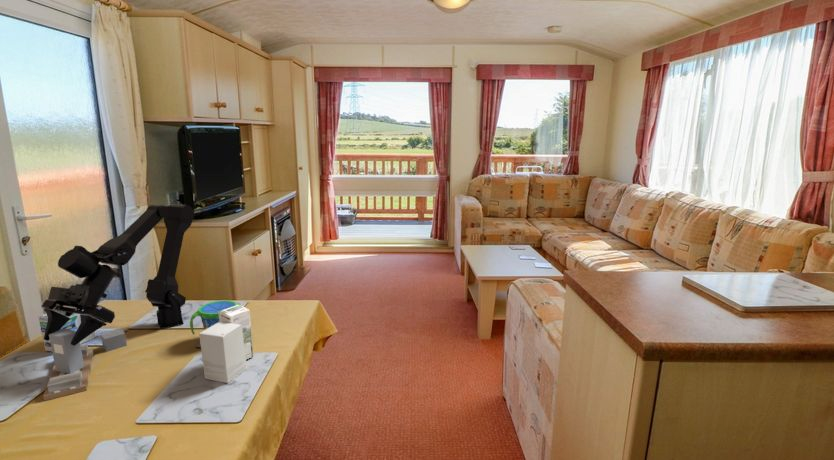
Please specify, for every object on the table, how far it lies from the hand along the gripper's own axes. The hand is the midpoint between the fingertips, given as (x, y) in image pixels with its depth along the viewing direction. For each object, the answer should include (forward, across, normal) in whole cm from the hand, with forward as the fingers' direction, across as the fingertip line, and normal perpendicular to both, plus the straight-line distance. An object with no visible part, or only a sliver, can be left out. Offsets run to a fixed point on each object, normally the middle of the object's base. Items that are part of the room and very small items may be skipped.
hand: (58, 342), depth 111 cm
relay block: (-4, -3, +18) cm, 19 cm away
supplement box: (-2, +38, +16) cm, 42 cm away
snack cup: (-14, +23, +28) cm, 38 cm away
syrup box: (-7, +36, +21) cm, 43 cm away
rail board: (+6, 0, +8) cm, 10 cm away
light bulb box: (-3, -17, +17) cm, 24 cm away
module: (+5, 0, +7) cm, 8 cm away
